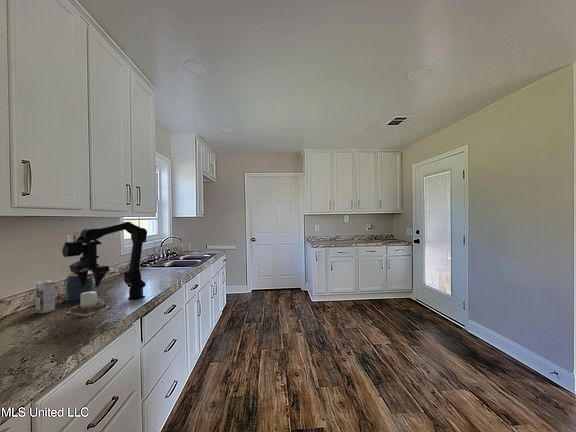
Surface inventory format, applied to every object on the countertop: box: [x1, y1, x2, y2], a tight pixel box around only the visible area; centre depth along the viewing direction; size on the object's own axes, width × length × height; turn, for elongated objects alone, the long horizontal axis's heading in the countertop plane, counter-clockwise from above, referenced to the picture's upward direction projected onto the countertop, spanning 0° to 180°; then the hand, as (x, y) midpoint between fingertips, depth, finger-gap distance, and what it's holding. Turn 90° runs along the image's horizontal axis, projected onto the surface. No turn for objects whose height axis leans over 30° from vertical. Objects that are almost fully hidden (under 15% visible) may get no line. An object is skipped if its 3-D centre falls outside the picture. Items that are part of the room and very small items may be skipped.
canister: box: [64, 270, 95, 303], centre depth 156 cm, size 13×13×18 cm
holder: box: [64, 301, 112, 318], centre depth 136 cm, size 13×13×3 cm
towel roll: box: [79, 291, 98, 309], centre depth 136 cm, size 6×6×8 cm
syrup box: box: [35, 280, 56, 314], centre depth 136 cm, size 6×6×14 cm
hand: (90, 286), depth 136 cm, fingers open, 9 cm apart
